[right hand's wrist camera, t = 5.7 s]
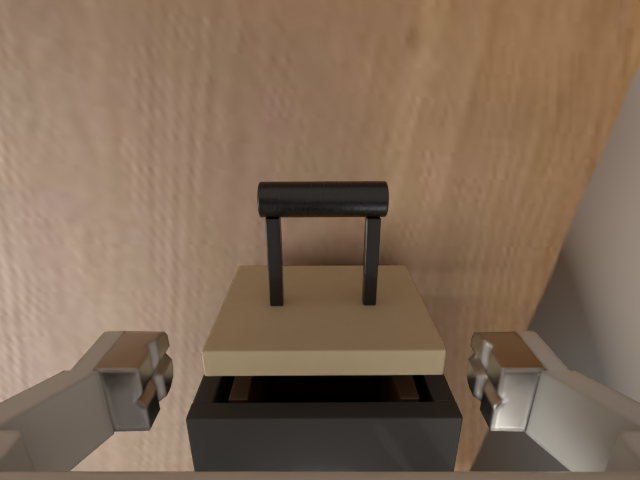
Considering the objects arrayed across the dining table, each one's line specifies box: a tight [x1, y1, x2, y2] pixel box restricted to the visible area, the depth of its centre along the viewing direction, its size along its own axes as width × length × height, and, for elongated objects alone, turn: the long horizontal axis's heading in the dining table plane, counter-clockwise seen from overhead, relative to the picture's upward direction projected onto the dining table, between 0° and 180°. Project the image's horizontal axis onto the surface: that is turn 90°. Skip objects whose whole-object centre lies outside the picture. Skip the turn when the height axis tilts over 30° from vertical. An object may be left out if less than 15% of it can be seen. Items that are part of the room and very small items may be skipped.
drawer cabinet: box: [186, 374, 463, 472], centre depth 22 cm, size 15×10×9 cm
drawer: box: [202, 181, 446, 403], centre depth 20 cm, size 20×9×8 cm, turn 0°
